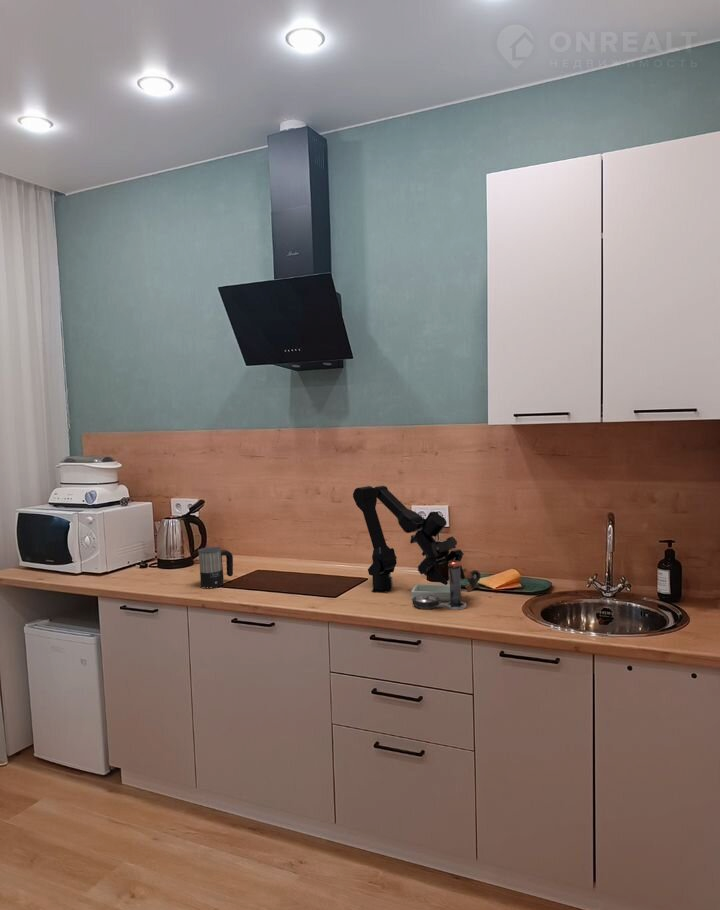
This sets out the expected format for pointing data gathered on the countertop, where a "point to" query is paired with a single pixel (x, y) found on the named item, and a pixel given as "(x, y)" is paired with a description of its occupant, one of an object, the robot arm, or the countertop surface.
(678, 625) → the countertop surface
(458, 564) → the pin
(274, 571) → the countertop surface
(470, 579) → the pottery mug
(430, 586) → the tray
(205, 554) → the milk frother
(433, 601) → the tensioner
